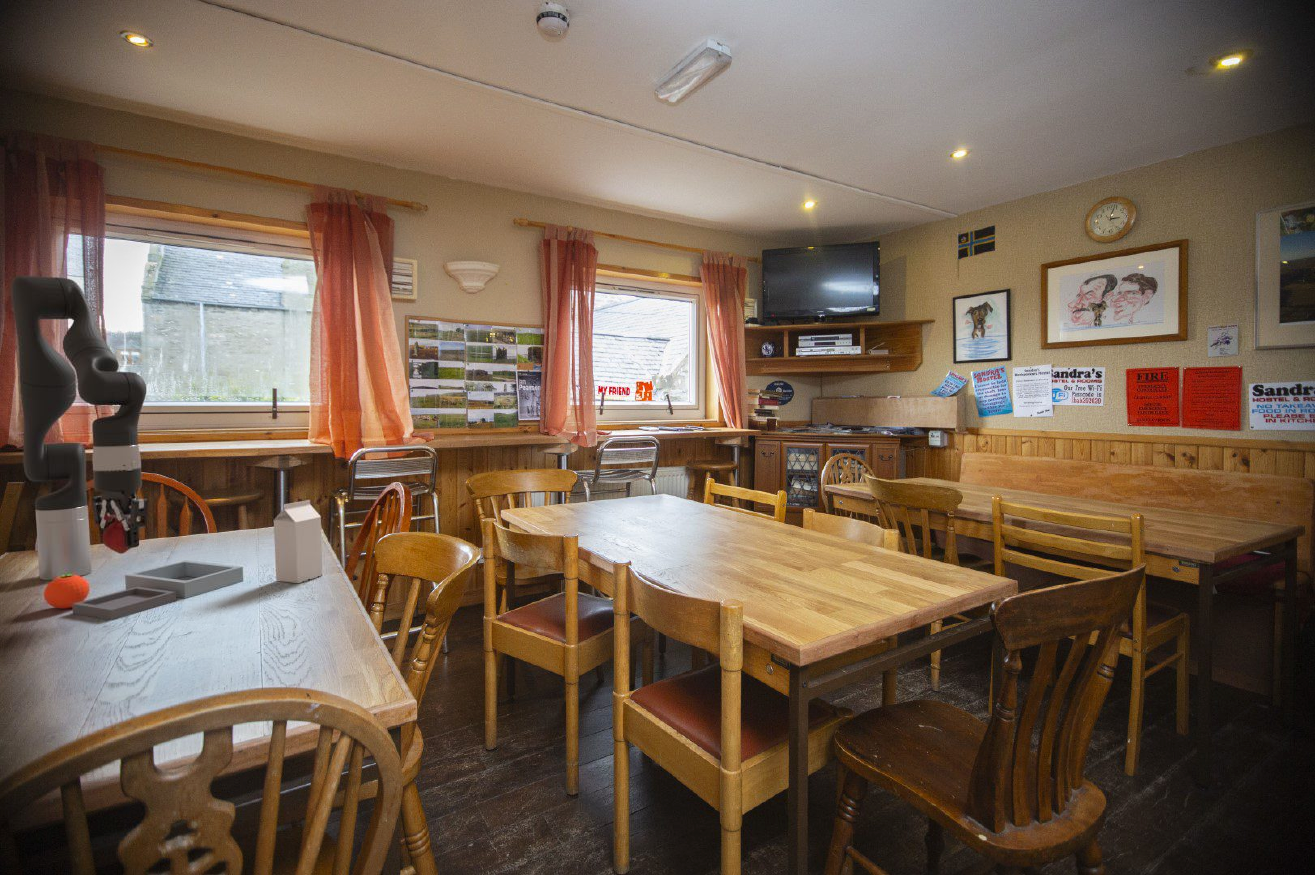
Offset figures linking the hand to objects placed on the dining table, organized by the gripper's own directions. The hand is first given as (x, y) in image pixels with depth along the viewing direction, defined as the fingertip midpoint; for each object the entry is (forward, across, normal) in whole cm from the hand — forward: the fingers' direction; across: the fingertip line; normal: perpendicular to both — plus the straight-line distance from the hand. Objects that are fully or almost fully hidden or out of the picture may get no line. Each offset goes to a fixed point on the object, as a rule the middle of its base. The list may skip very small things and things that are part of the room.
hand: (121, 545), depth 127 cm
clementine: (+13, -12, -4) cm, 18 cm away
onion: (+2, 0, 0) cm, 2 cm away
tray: (+13, 0, 0) cm, 13 cm away
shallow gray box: (+13, -3, +14) cm, 20 cm away
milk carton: (+13, +18, +27) cm, 35 cm away
